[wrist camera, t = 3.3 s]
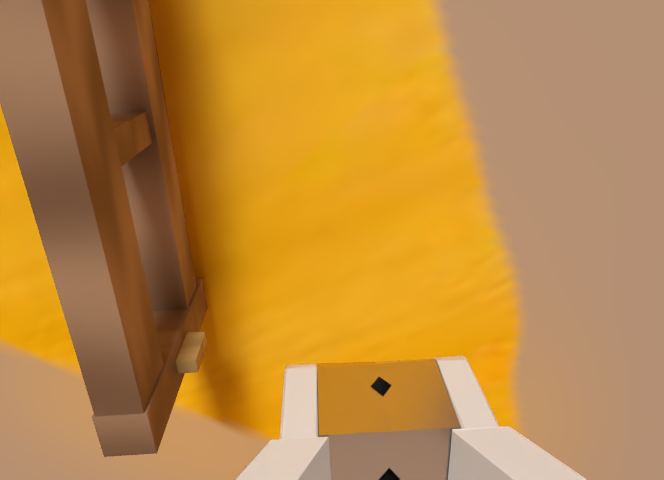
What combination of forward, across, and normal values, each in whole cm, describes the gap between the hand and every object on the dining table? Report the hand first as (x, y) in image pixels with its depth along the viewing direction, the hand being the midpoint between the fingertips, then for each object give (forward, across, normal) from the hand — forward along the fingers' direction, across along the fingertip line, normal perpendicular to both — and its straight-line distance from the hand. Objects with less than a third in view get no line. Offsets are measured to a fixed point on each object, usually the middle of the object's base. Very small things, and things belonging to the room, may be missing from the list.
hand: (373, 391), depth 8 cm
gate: (+16, +7, -2) cm, 17 cm away
